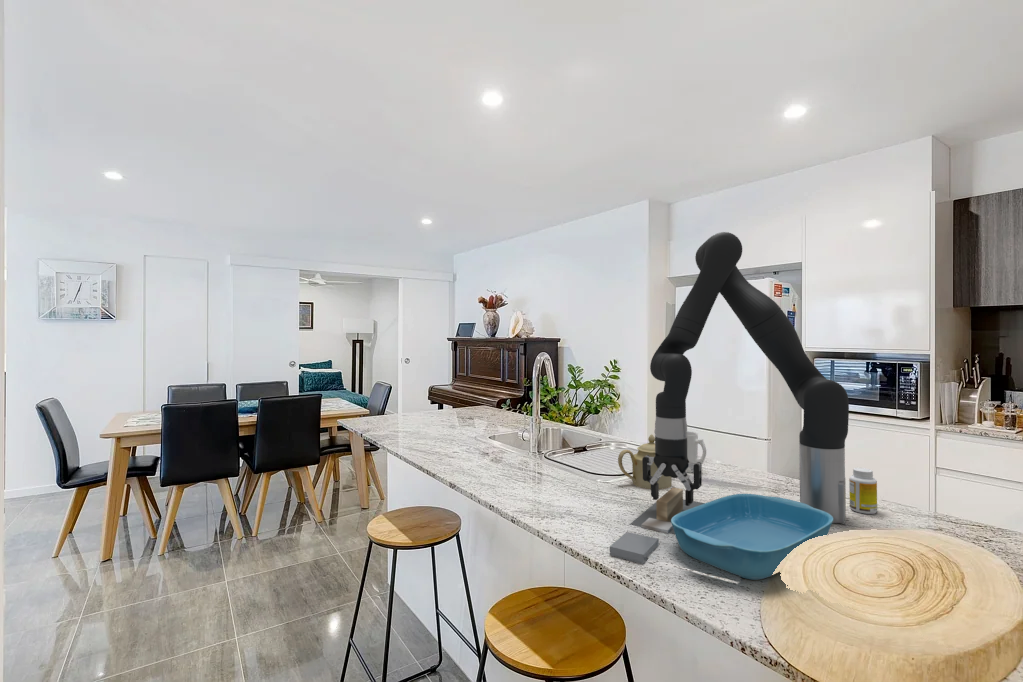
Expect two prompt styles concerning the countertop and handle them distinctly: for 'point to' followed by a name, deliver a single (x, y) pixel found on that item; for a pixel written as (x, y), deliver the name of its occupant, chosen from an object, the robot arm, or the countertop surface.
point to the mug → (694, 449)
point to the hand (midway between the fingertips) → (671, 501)
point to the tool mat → (652, 513)
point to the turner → (666, 511)
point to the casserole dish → (748, 532)
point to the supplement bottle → (863, 491)
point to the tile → (634, 547)
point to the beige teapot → (638, 467)
